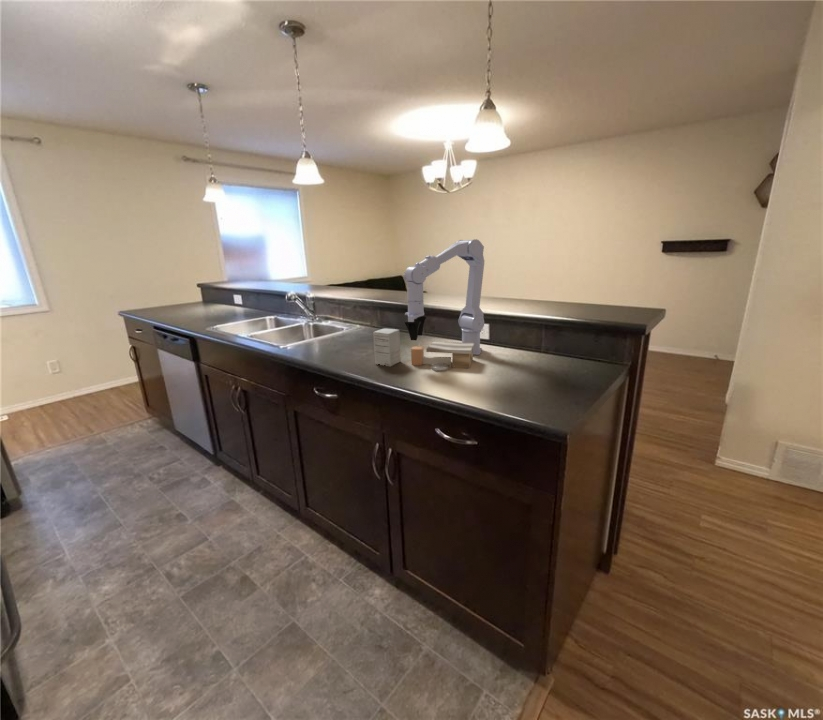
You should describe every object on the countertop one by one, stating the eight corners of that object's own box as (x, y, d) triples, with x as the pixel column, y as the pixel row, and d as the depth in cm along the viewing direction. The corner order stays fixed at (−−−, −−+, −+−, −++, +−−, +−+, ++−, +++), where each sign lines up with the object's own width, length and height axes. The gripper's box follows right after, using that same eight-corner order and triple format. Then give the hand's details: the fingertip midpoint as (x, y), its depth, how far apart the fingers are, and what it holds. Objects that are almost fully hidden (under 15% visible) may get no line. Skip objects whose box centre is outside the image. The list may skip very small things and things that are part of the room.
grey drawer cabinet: (385, 359, 152) (383, 327, 149) (401, 361, 148) (400, 329, 145) (374, 364, 146) (372, 331, 143) (390, 366, 142) (389, 333, 139)
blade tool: (413, 361, 148) (412, 346, 146) (451, 362, 145) (451, 347, 144) (411, 364, 144) (411, 349, 142) (450, 365, 142) (450, 349, 140)
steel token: (433, 366, 142) (433, 362, 142) (450, 367, 140) (450, 363, 140) (430, 371, 136) (430, 367, 136) (447, 372, 135) (447, 368, 134)
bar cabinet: (433, 357, 152) (432, 341, 150) (474, 359, 148) (474, 343, 146) (426, 366, 142) (426, 348, 140) (470, 368, 138) (470, 350, 136)
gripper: (410, 298, 147) (411, 333, 151) (398, 303, 133) (400, 341, 137) (428, 298, 145) (428, 333, 149) (418, 303, 132) (419, 342, 135)
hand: (416, 337), depth 143 cm, fingers open, 7 cm apart
